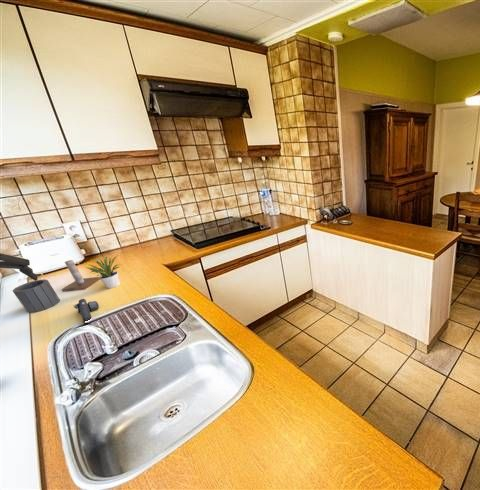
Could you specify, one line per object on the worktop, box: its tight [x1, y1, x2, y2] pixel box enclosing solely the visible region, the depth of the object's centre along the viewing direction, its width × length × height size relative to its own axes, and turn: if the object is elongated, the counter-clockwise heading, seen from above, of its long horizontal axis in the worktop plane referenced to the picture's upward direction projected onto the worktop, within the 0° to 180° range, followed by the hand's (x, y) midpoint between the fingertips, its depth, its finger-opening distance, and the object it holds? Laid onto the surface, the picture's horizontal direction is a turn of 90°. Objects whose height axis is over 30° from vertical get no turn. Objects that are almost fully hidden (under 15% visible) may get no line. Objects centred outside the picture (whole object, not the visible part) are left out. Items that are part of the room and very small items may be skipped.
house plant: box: [84, 253, 122, 289], centre depth 133 cm, size 14×14×16 cm
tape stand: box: [61, 259, 101, 293], centre depth 134 cm, size 10×10×14 cm
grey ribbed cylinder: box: [12, 278, 61, 314], centre depth 119 cm, size 10×10×11 cm
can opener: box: [73, 298, 99, 323], centre depth 111 cm, size 18×7×6 cm, turn 44°
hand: (12, 287), depth 101 cm, fingers open, 13 cm apart
